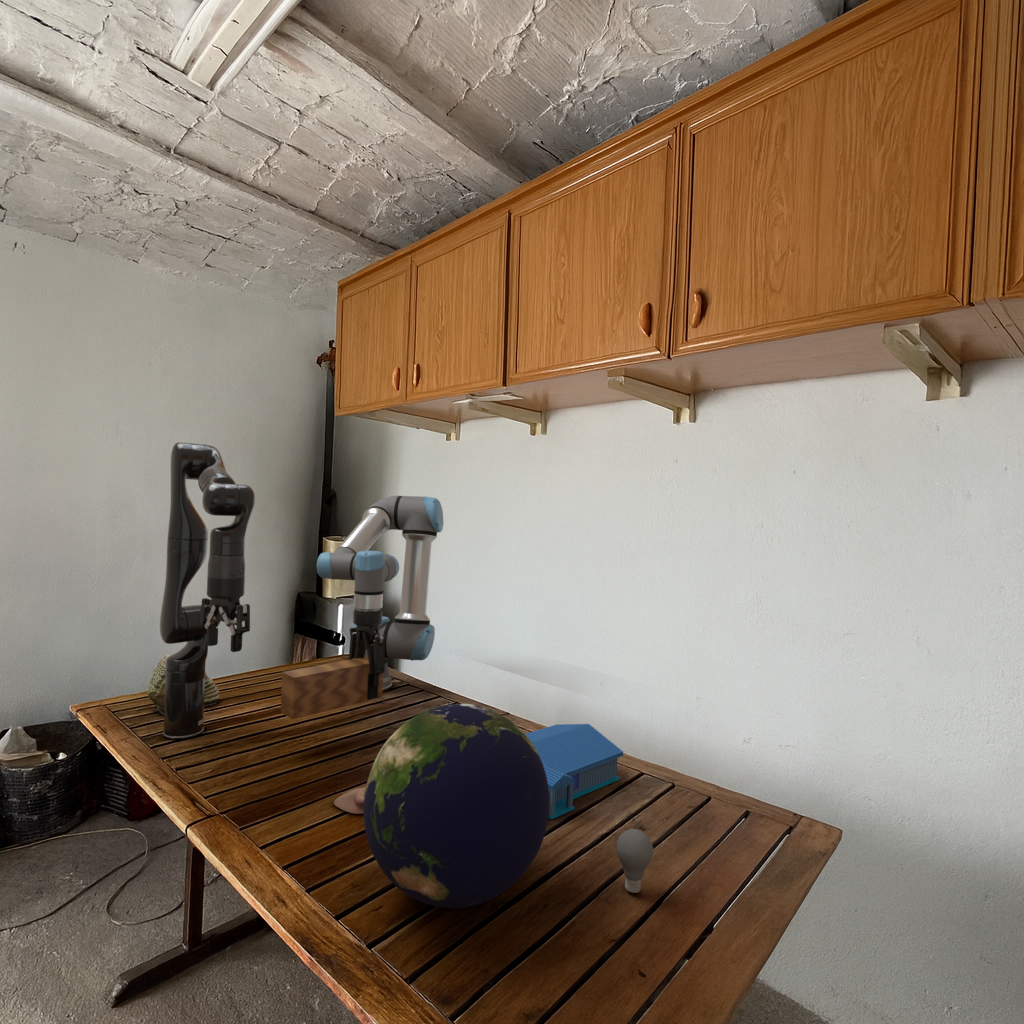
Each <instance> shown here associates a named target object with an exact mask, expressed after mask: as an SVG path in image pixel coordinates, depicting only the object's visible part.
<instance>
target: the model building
mask: <svg viewBox="0 0 1024 1024" xmlns="http://www.w3.org/2000/svg"><path fill="white" fill-rule="evenodd" d="M524 734H525V735H526V736H527V737H528V738H529V739H530V741H531V742H532V744H533V745H534V747H535V749H536V750H537V752H538V754H539V756H540V759H541V761H542V764H543V766H544V770H545V773H546V777H547V782H548V788H549V817H548V820H553V819H556V818H558V817H560V816H563V815H565V814H567V813H570V812H573V811H574V810H576V809H575V808H576V807H575V806H574V804H573V803H574V800H575V799H577V798H580V797H582V796H585V795H587V794H589V793H592V792H594V791H596V790H599V789H601V788H604V787H605V786H608V785H610V784H612V783H615V782H618V781H620V780H621V777H620V776H618V759H619V758H621V757H624V751H623V750H622V749H620V748H619V746H617V744H615V743H613V742H612V741H611V740H609V738H607V737H606V736H605V735H603V733H601V732H600V731H598V730H597V729H596V728H595V727H593V726H592V725H591V724H590V723H563V724H562V723H561V724H554V725H550V726H546V727H544V728H540V729H537V730H534V731H529V732H527V733H524Z"/></svg>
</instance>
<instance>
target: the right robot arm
mask: <svg viewBox="0 0 1024 1024" xmlns="http://www.w3.org/2000/svg"><path fill="white" fill-rule="evenodd" d="M443 529H444V512H443V507H442V504H441V502H440V500H439V499H438V498H436V497H432V496H420V495H419V496H418V495H417V496H416V495H415V496H414V495H412V496H411V495H390V496H387V497H385V498H381V499H380V500H377V501H376V502H375V503H372V505H370V506H369V507H368V508H367V509H366V510H365V511H364V512H363V513H362V516H361V520H360V521H359V522H358V524H357V525H356V526H355V527H354V528H353V530H352V531H351V532H350V533H349V535H347V537H346V538H345V539H344V540H343V541H342V542H341V543H340V544H339V546H338V547H337V548H336V549H335V550H334V551H333V552H331V551H324V552H321V553H320V554H319V555H318V557H317V561H316V573H317V575H318V576H319V577H320V578H322V579H326V580H327V579H328V580H340V581H354V594H353V608H354V610H353V617H352V622H353V625H352V627H350V628H349V650H348V660H351V659H356V658H362V657H367V656H368V660H369V668H370V673H368V692H367V699H369V700H370V699H374V698H378V685H379V674H380V673H383V689H382V693H386V692H388V691H389V690H391V689H392V687H393V680H392V676H391V673H390V669H389V666H388V659H394V660H395V659H396V660H407V661H412V662H413V661H425V660H426V659H427V658H428V657H429V655H430V653H431V651H432V649H433V645H434V641H435V636H436V633H435V631H436V627H435V626H434V625H432V624H431V618H430V616H428V614H427V606H428V605H427V604H428V593H429V581H430V580H429V579H430V571H431V570H430V569H431V556H432V546H433V542H434V541H435V540H436V539H438V533H441V532H442V531H443ZM393 530H395V531H401V536H402V538H404V540H405V550H404V559H403V562H404V563H403V572H402V573H403V574H402V584H401V585H402V586H401V595H400V598H401V599H400V608H399V613H398V614H397V615H395V617H394V622H392V621H391V620H390V617H388V616H383V605H384V602H383V601H384V600H383V599H384V583H386V582H390V581H392V580H393V579H394V578H395V577H396V576H397V575H398V574H399V571H400V563H399V561H398V559H397V558H396V557H395V556H394V555H392V554H387V553H386V554H385V553H384V552H382V551H379V550H370V549H371V547H372V546H373V545H374V544H375V543H376V541H377V540H378V539H379V537H380V536H381V535H383V534H385V533H387V532H388V531H393ZM390 621H391V622H390Z"/></svg>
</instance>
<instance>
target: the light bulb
mask: <svg viewBox="0 0 1024 1024" xmlns="http://www.w3.org/2000/svg"><path fill="white" fill-rule="evenodd" d="M615 849H616V854H617V857H618V859H619V861H620V863H621V865H622V867H623V873H624V874H623V875H624V876H625V878H624V888H625V890H627V891H628V892H630V893H634V894H635V893H639V892H640V891H641V889H642V887H641V886H642V879H643V877H644V875H645V871H646V868H647V867H648V866H649V864H650V863H651V861H652V859H653V855H654V847H653V843H652V841H651V838H649V836H648V835H647V834H646V833H645V832H643V831H642V830H641V829H636V828H629V829H627V830H625V831H623V832H622V833H621V834H620V835H619V837H618V839H617V841H616V847H615Z"/></svg>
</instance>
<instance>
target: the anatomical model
mask: <svg viewBox="0 0 1024 1024" xmlns="http://www.w3.org/2000/svg"><path fill="white" fill-rule="evenodd" d="M365 789H366V786H364V787H358V788H355V789H351V790H349V791H346V792H345V793H342V794H341V795H340V796H338V797H337V798H336V799H335V800H334V801H333V805H334V806H335V807H336V808H338V809H340V810H341V811H344V812H347V813H348V814H354V815H357V814H358V815H361V814H362V815H364V808H363V806H364V795H365Z"/></svg>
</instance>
